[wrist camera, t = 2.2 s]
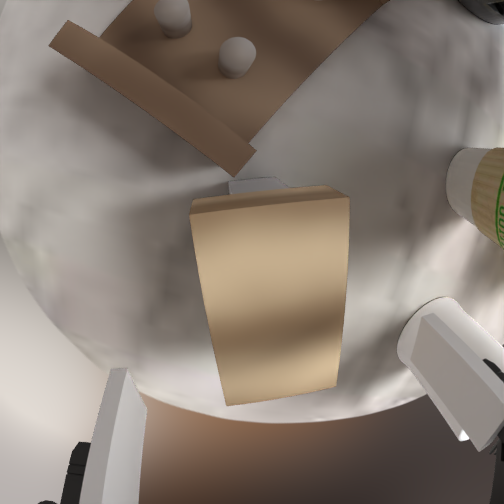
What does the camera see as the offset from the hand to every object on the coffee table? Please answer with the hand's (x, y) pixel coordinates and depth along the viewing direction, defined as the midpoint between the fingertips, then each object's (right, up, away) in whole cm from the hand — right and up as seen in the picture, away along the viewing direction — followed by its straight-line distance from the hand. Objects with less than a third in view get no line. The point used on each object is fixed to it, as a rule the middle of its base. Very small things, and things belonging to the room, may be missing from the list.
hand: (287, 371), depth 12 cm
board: (0, +3, +6) cm, 6 cm away
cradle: (-2, +20, +3) cm, 21 cm away
